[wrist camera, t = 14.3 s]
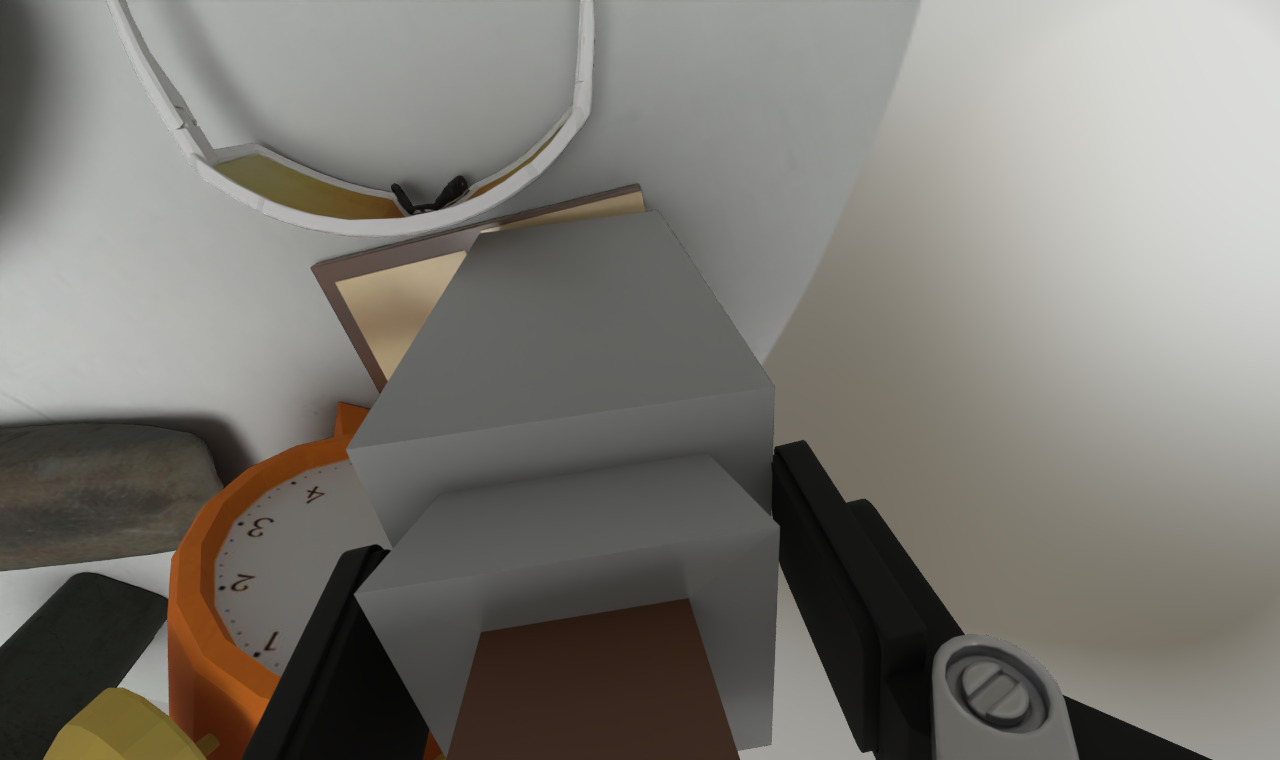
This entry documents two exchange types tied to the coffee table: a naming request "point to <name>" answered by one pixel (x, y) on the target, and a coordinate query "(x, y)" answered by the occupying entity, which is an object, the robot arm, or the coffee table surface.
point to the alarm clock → (239, 606)
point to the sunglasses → (332, 201)
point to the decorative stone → (98, 492)
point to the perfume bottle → (577, 505)
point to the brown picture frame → (428, 276)
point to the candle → (70, 658)
